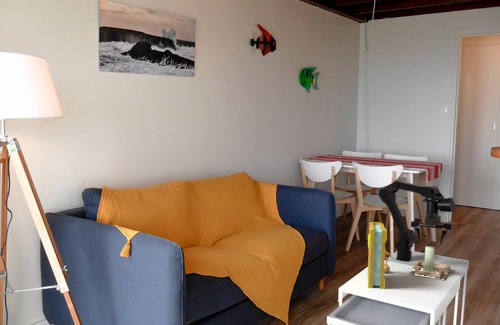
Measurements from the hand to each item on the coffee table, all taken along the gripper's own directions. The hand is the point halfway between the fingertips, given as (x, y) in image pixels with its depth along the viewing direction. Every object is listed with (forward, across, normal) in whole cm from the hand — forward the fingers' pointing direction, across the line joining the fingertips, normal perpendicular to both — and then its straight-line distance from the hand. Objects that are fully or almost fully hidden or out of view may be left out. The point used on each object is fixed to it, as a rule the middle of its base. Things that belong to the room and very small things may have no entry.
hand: (430, 243), depth 226 cm
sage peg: (+14, 0, -7) cm, 15 cm away
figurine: (+17, -19, -14) cm, 28 cm away
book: (+21, -20, -28) cm, 40 cm away
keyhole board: (+14, +1, -3) cm, 14 cm away
